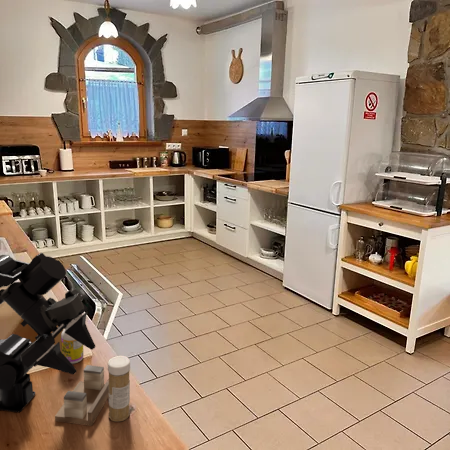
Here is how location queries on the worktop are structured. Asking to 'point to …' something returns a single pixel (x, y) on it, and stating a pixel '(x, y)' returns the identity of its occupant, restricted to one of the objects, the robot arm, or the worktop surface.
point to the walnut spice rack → (85, 398)
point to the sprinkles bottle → (119, 388)
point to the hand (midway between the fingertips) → (85, 359)
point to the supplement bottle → (71, 348)
